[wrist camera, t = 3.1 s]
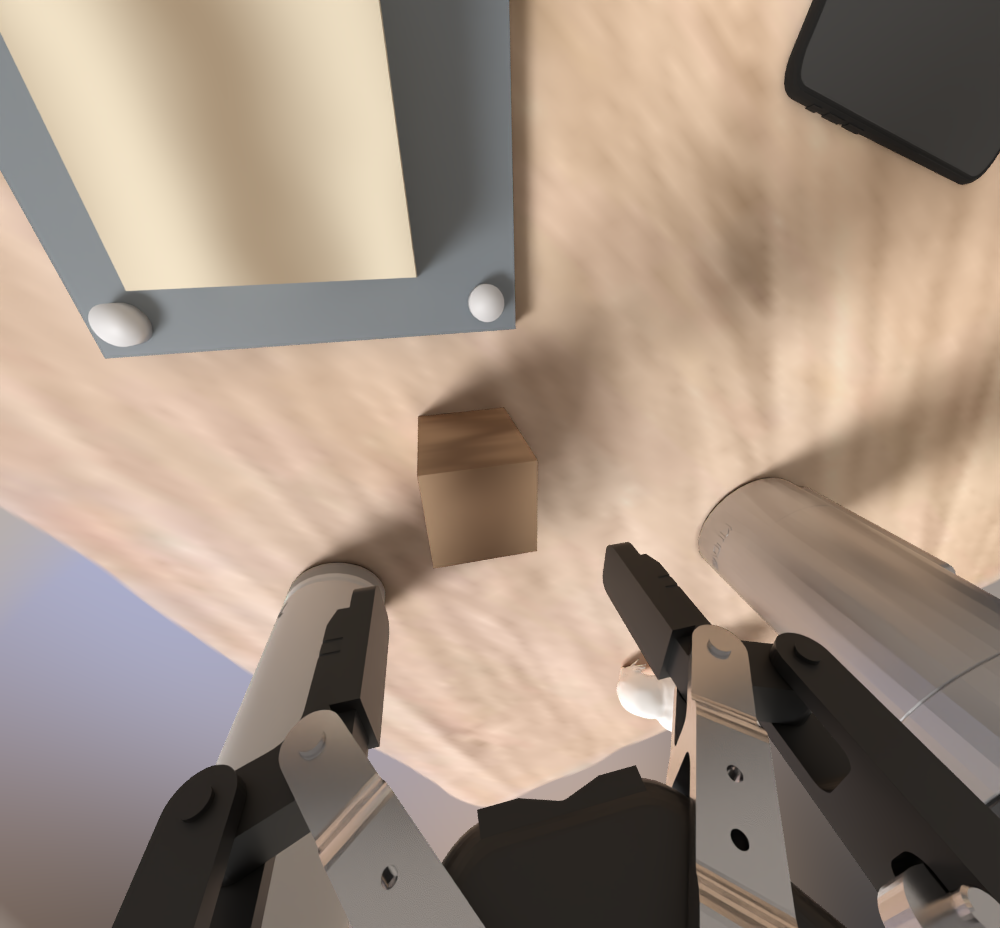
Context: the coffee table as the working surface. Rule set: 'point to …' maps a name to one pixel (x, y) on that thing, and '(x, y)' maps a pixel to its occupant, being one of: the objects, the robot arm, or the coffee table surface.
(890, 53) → the smartphone
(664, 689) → the white lumpy piece
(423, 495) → the walnut block
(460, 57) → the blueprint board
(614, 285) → the coffee table surface
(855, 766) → the robot arm
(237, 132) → the birch plinth
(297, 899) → the travel mug
